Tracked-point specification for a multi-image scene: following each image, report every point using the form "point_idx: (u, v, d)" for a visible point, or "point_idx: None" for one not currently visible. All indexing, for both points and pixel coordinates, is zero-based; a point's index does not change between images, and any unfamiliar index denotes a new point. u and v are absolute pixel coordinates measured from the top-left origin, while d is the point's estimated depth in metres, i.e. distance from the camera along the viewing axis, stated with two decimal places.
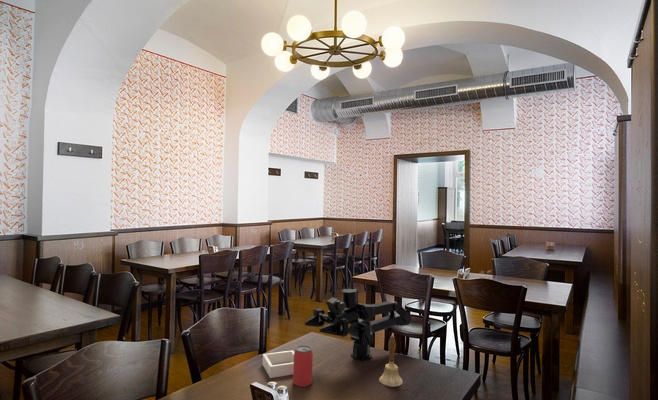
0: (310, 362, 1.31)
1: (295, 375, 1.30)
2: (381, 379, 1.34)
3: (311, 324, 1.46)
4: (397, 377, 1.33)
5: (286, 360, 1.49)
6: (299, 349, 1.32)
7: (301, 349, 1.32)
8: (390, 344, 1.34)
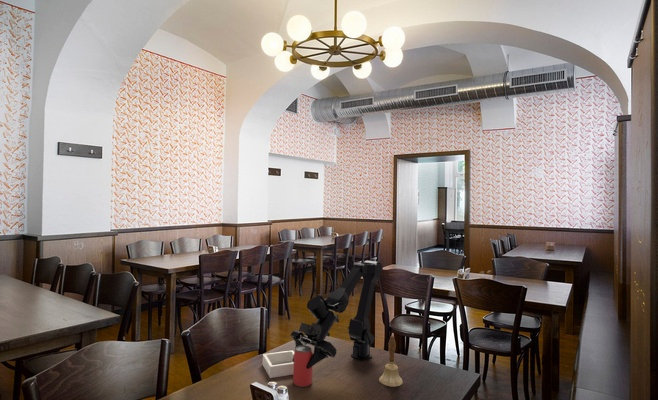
0: None
1: (295, 375, 1.30)
2: (381, 379, 1.34)
3: None
4: (397, 377, 1.33)
5: (286, 360, 1.49)
6: (299, 349, 1.32)
7: (301, 349, 1.32)
8: (390, 344, 1.34)
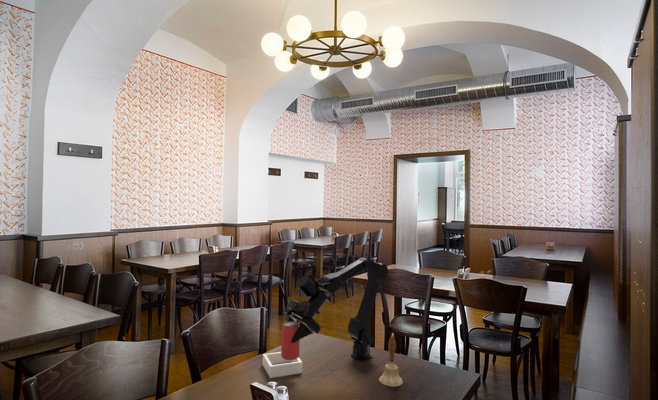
0: None
1: (282, 348, 1.36)
2: (381, 379, 1.34)
3: None
4: (397, 377, 1.33)
5: (286, 360, 1.49)
6: (287, 324, 1.38)
7: (288, 324, 1.38)
8: (390, 344, 1.34)
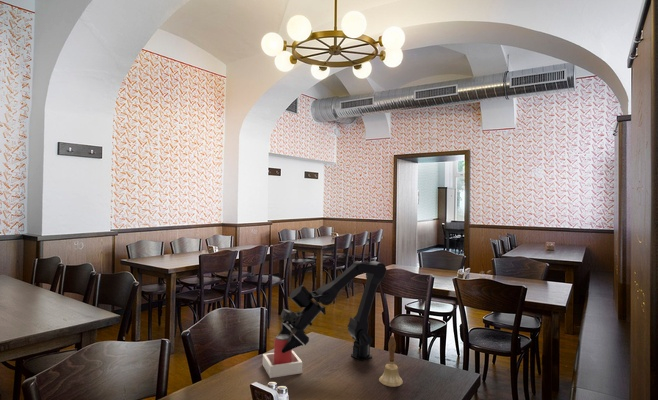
0: None
1: (274, 360, 1.43)
2: (381, 379, 1.34)
3: None
4: (397, 377, 1.33)
5: None
6: (279, 337, 1.44)
7: (281, 337, 1.44)
8: (390, 344, 1.34)
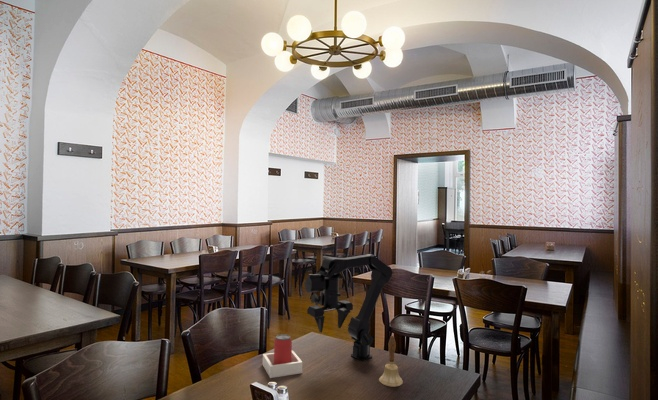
0: (286, 350, 1.41)
1: (274, 360, 1.43)
2: (381, 379, 1.34)
3: (341, 321, 1.51)
4: (397, 377, 1.33)
5: None
6: (279, 337, 1.44)
7: (281, 337, 1.44)
8: (390, 344, 1.34)
